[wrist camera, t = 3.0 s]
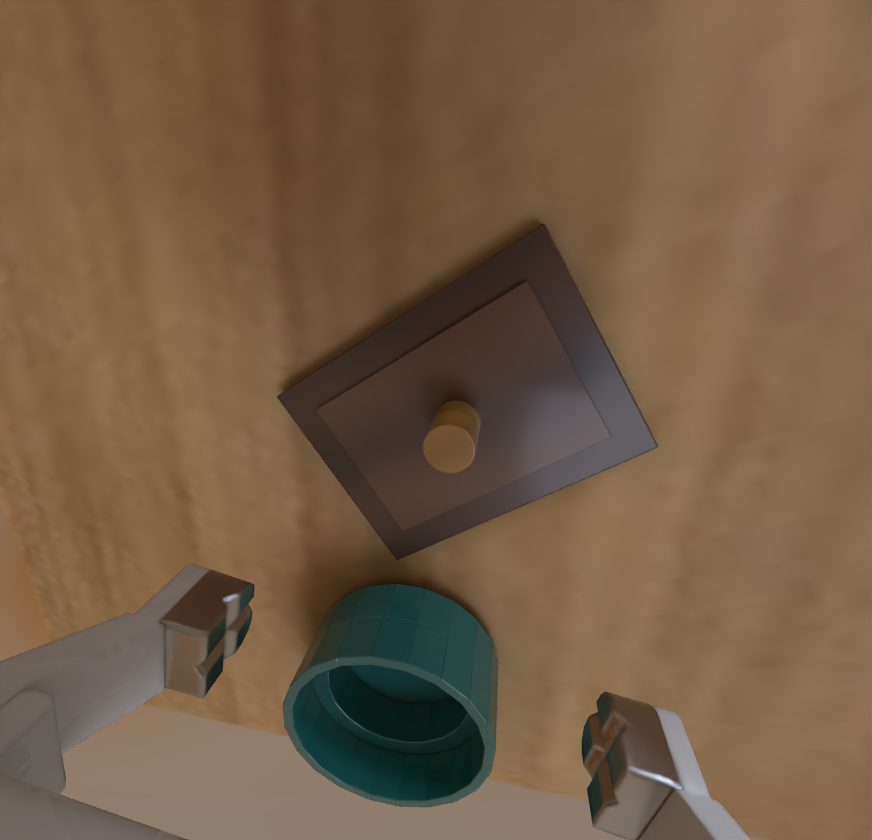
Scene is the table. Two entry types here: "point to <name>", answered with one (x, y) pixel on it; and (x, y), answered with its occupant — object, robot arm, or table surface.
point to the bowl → (397, 698)
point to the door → (472, 402)
